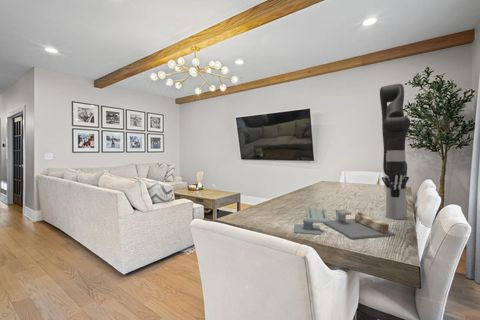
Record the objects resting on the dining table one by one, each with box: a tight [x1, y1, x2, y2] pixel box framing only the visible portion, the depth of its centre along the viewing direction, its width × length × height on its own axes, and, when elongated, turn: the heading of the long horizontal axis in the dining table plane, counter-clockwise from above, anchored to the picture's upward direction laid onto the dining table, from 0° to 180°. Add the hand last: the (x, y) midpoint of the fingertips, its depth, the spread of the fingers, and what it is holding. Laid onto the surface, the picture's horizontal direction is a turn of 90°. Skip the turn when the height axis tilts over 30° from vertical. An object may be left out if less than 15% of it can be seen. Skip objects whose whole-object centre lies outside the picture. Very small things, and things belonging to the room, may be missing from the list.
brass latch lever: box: [354, 213, 390, 233], centre depth 114 cm, size 19×4×4 cm, turn 10°
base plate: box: [323, 211, 396, 241], centre depth 114 cm, size 22×24×6 cm
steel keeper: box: [335, 209, 352, 222], centre depth 121 cm, size 4×6×6 cm
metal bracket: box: [303, 207, 333, 221], centre depth 133 cm, size 14×6×15 cm
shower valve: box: [293, 218, 326, 236], centre depth 114 cm, size 12×6×15 cm
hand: (395, 197), depth 107 cm, fingers closed
